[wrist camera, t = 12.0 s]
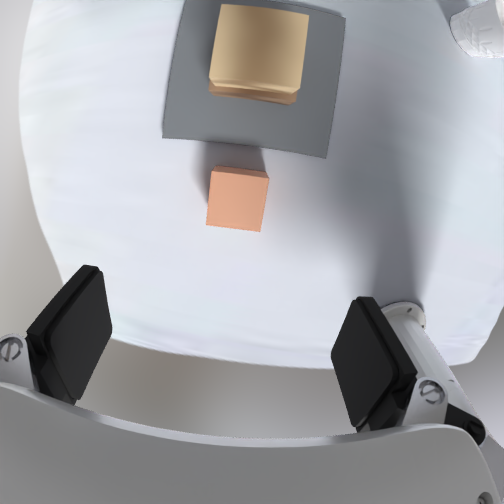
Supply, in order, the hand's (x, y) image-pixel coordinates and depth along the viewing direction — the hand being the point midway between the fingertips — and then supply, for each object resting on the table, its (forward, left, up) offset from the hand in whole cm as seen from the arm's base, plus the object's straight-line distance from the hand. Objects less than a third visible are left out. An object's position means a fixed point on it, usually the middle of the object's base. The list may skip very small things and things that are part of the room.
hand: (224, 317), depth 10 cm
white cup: (-5, -38, -20) cm, 44 cm away
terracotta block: (0, 0, -20) cm, 20 cm away
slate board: (+7, -10, -20) cm, 24 cm away
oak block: (+7, -10, -15) cm, 20 cm away
